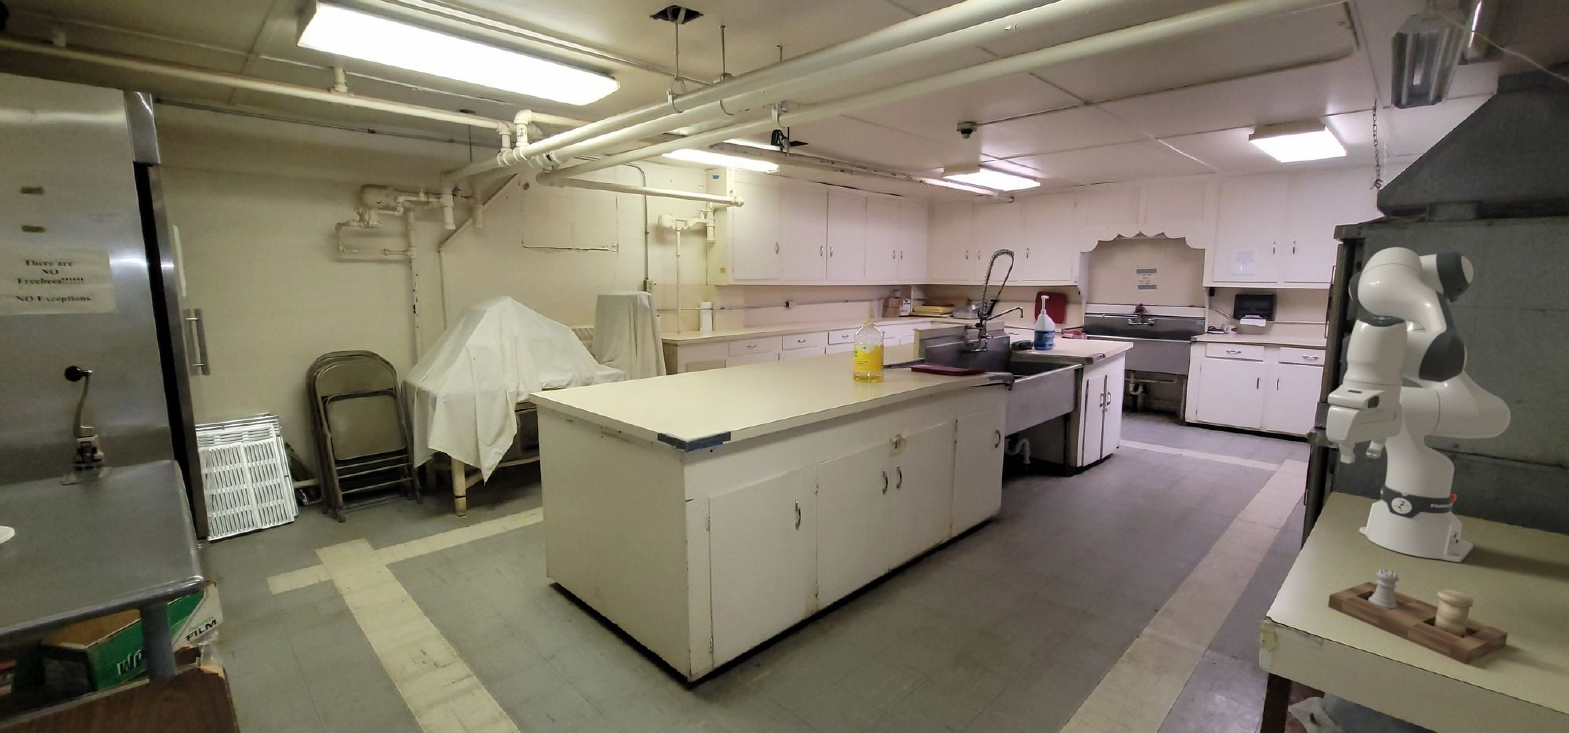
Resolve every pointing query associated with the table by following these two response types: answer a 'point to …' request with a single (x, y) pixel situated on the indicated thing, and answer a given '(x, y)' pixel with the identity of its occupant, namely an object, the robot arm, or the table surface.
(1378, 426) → the robot arm
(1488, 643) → the pallet board
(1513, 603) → the table surface
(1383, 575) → the rook chess piece
